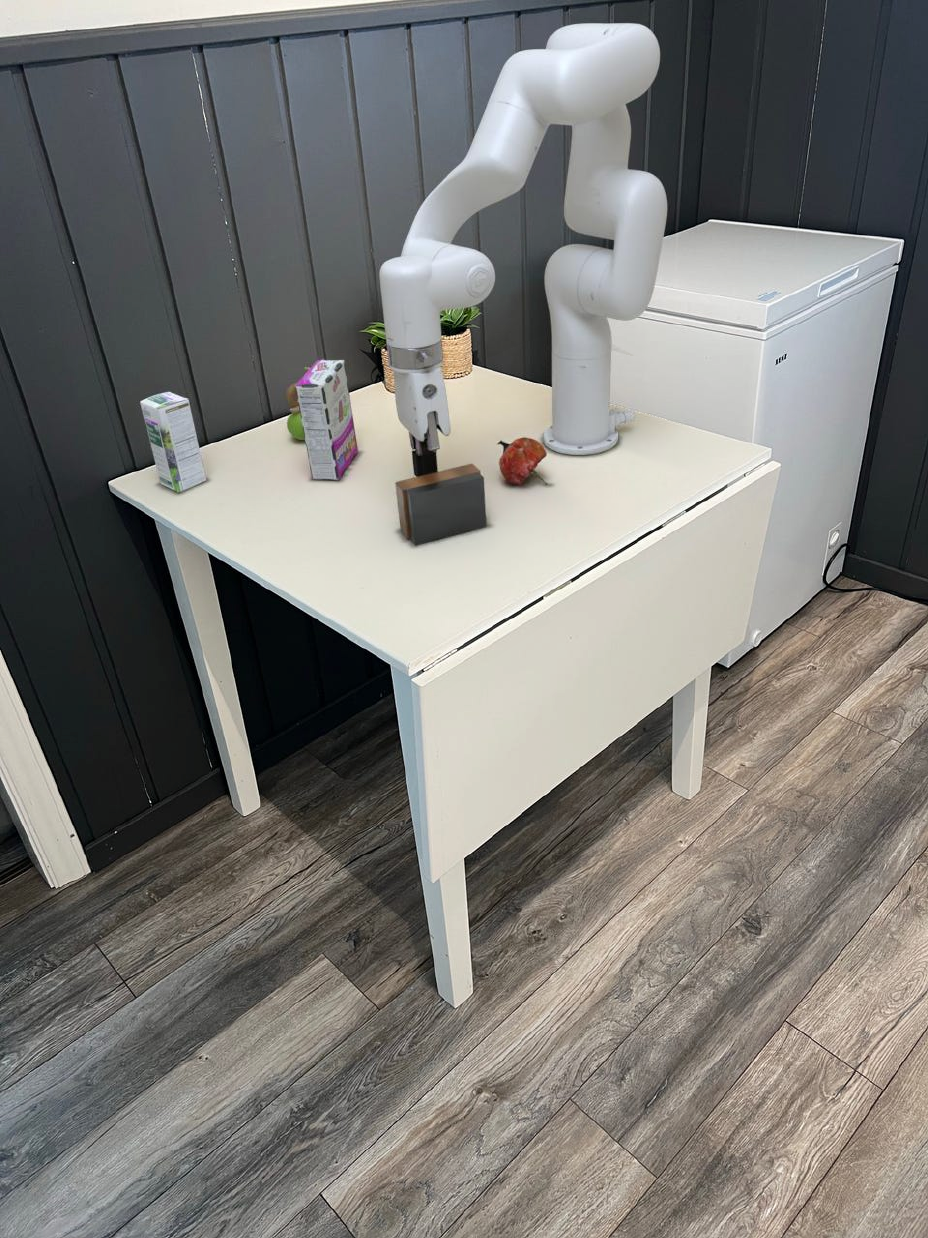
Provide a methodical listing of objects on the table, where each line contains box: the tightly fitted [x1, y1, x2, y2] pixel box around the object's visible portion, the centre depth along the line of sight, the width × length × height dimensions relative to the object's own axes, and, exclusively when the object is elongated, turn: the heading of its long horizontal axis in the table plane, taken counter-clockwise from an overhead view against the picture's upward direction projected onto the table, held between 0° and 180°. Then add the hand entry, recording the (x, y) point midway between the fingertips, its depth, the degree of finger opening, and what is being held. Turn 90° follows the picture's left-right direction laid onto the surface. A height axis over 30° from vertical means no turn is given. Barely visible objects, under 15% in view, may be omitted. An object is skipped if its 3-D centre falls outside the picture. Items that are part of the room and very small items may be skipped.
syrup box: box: [139, 391, 207, 493], centre depth 152 cm, size 6×6×14 cm
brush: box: [394, 463, 487, 546], centre depth 136 cm, size 12×5×8 cm, turn 113°
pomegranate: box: [497, 436, 548, 486], centre depth 148 cm, size 7×7×10 cm
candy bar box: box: [295, 359, 359, 481], centre depth 154 cm, size 11×5×16 cm, turn 168°
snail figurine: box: [285, 366, 311, 441], centre depth 165 cm, size 5×6×12 cm
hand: (426, 475), depth 139 cm, fingers closed
